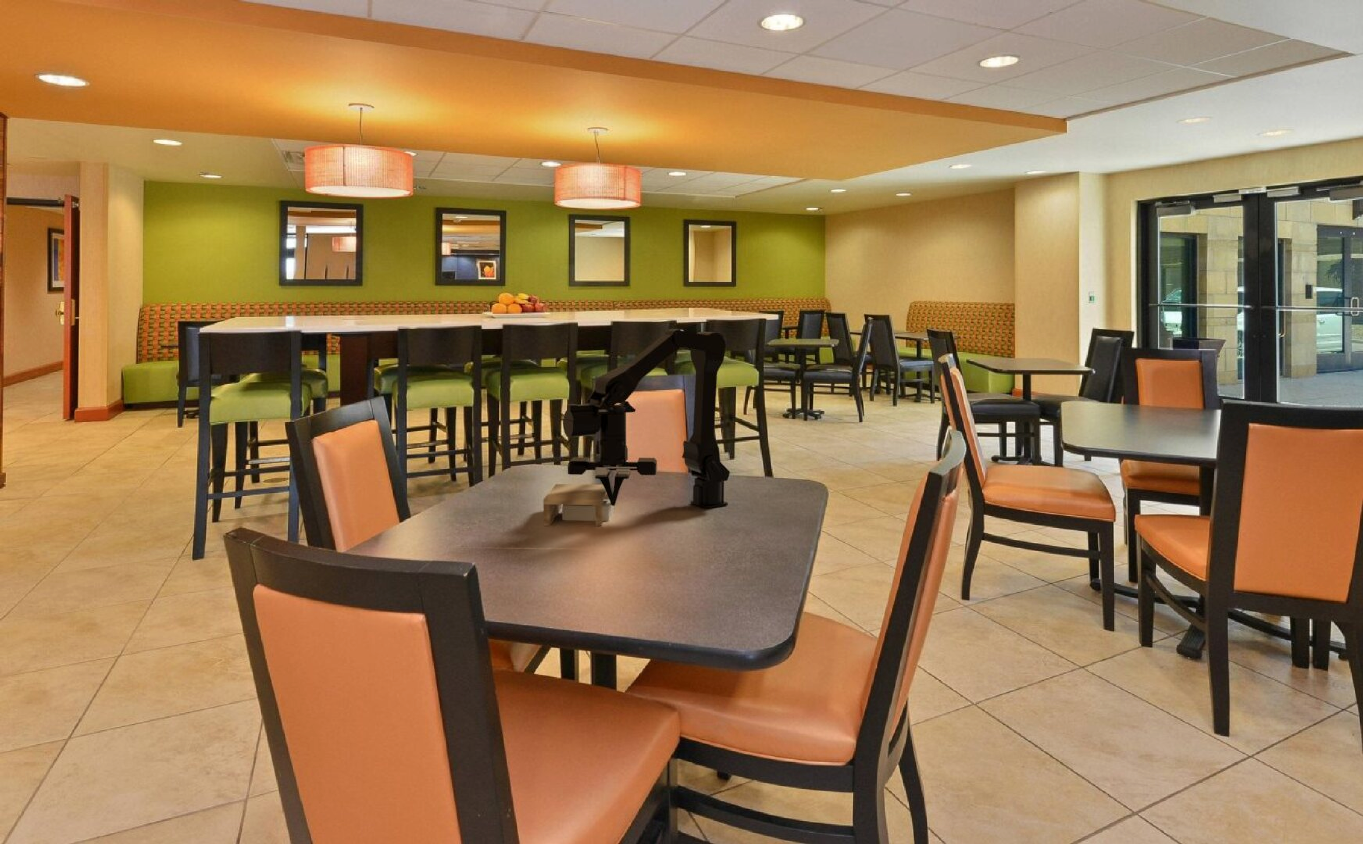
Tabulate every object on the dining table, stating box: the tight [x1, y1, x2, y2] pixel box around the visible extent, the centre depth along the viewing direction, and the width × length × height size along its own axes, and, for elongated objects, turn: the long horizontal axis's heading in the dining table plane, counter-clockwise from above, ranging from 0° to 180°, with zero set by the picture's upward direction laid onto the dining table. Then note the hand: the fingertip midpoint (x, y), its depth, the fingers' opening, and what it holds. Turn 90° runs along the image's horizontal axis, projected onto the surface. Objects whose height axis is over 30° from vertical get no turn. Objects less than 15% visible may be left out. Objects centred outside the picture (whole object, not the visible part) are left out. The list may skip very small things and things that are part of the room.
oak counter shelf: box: [542, 483, 609, 527], centre depth 167 cm, size 12×14×6 cm
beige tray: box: [561, 500, 614, 522], centre depth 168 cm, size 10×6×4 cm, turn 86°
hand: (613, 505), depth 167 cm, fingers closed
